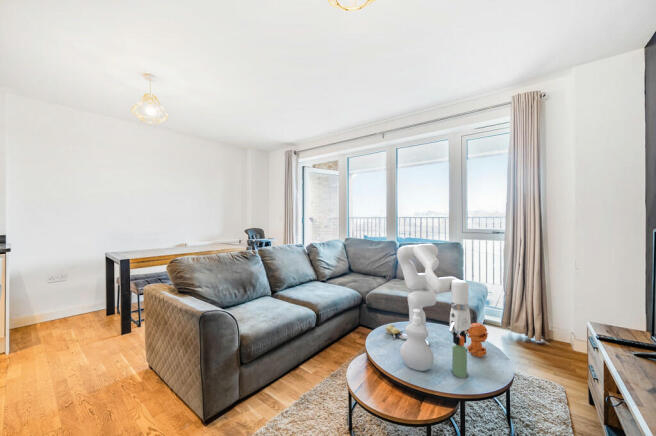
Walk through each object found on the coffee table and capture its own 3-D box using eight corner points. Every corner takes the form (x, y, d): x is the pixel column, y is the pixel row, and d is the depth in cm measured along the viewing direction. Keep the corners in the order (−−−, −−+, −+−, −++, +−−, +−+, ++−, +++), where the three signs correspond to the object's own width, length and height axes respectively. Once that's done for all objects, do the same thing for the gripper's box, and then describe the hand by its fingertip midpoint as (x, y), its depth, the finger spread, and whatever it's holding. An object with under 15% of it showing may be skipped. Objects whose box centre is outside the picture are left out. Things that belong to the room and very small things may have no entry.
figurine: (409, 340, 172) (390, 329, 182) (411, 332, 171) (391, 321, 181) (401, 345, 165) (381, 334, 176) (402, 337, 164) (382, 326, 175)
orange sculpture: (492, 360, 143) (492, 327, 143) (470, 358, 146) (470, 325, 145) (484, 350, 154) (484, 319, 154) (464, 348, 156) (464, 318, 156)
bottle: (452, 375, 130) (452, 339, 130) (452, 368, 136) (452, 333, 136) (467, 378, 128) (467, 341, 128) (466, 371, 134) (466, 335, 133)
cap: (460, 346, 129) (460, 339, 129) (453, 342, 133) (453, 335, 133) (466, 344, 131) (466, 337, 131) (458, 341, 134) (458, 334, 134)
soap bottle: (436, 366, 138) (436, 309, 138) (431, 377, 129) (431, 317, 128) (404, 356, 148) (404, 304, 147) (396, 366, 138) (396, 310, 138)
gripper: (454, 311, 124) (454, 350, 125) (477, 305, 132) (477, 342, 132) (441, 306, 131) (441, 343, 131) (464, 301, 139) (464, 336, 139)
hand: (459, 342), depth 132 cm, fingers closed on cap, 4 cm apart
